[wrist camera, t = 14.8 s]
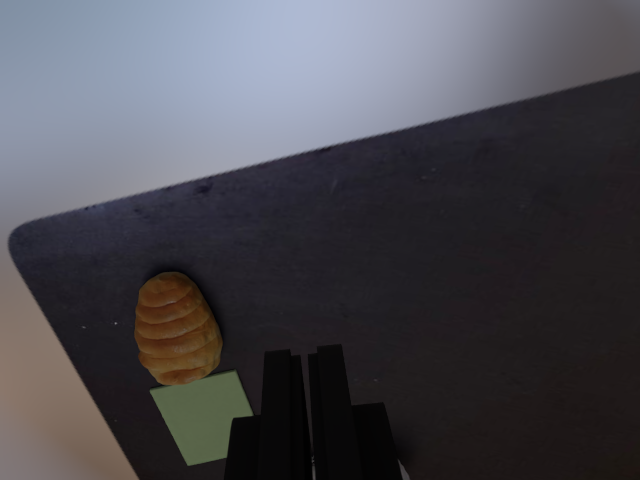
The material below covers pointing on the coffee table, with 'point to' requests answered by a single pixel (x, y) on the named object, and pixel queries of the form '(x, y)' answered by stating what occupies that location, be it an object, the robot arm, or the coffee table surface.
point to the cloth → (203, 414)
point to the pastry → (176, 330)
